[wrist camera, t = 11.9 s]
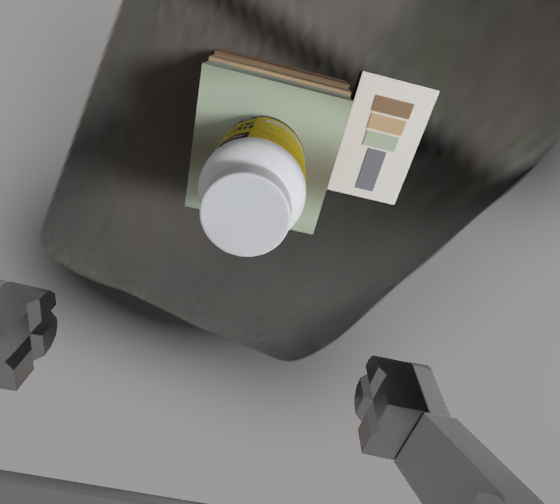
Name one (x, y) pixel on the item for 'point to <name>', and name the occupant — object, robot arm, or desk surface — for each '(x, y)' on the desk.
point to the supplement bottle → (253, 186)
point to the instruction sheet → (381, 137)
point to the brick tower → (277, 103)
